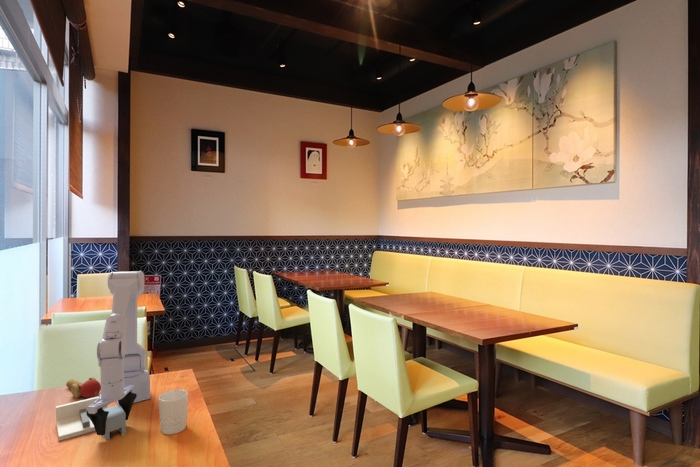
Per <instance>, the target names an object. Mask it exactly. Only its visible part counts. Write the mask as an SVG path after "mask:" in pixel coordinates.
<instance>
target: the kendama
mask: <svg viewBox="0 0 700 467" xmlns="http://www.w3.org/2000/svg"><path fill="white" fill-rule="evenodd" d="M65 385H66V387H67V388H69V389H70V391H71V395H72V396H73V398H76V399H77V398H80V397H83V398H85V399H89V398H94V397H98V396H99V395H100V393H101V382H100V381H98V380H97V379H96V377H95V376H91V377H89V378H88V379H87V381H85V382H81V381H78V380H76V379H72V378H70V379H68V381H66V384H65Z"/></svg>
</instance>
